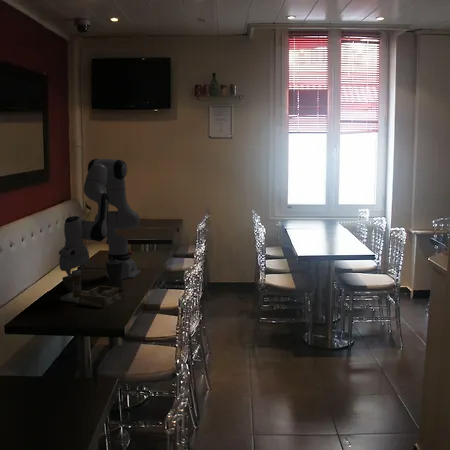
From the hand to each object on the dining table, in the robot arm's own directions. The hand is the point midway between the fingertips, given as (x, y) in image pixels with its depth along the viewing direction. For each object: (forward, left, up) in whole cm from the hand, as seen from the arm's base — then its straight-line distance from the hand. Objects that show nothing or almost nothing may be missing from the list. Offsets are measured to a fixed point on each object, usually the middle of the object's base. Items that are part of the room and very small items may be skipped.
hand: (75, 275), depth 283 cm
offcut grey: (+6, +19, -12) cm, 23 cm away
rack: (+1, +15, -12) cm, 19 cm away
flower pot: (-11, -11, -12) cm, 20 cm away
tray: (+1, 0, -12) cm, 12 cm away
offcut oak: (-4, +19, -12) cm, 23 cm away
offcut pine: (+1, +19, -12) cm, 22 cm away
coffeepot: (-21, +9, -12) cm, 26 cm away
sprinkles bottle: (0, 0, -11) cm, 11 cm away
